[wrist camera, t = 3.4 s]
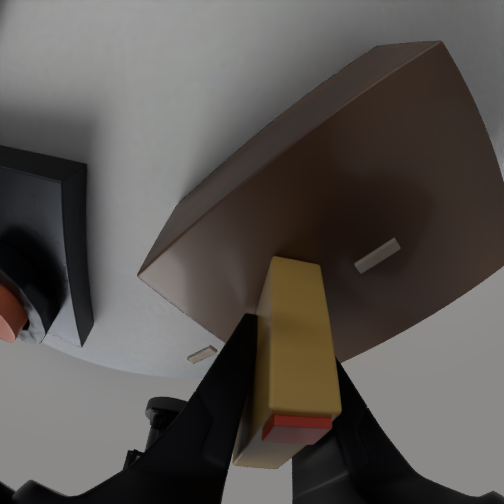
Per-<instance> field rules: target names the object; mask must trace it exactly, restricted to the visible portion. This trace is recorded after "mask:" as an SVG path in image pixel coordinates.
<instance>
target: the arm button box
mask: <svg viewBox="0 0 504 504" xmlns="http://www.w3.org/2000/svg"><path fill="white" fill-rule="evenodd" d="M86 171H87V165H86V164H84V163H79V162H75V161H71V160H66V159H62V158H57V157H53V156H48V155H43V154H39V153H34V152H29V151H24V150H19V149H14V148H9V147H4V146H0V283H1V284H2V285H3V286H4V287H5V288H6V289H7V290H9V291H10V292H11V293H12V294H13V295H14V296H15V297H16V299H17V300H18V302H19V303H20V304H21V306H22V307H23V309H24V310H25V311H26V314H27V317H28V320H27V322H26V324H25V325H24V327H23V328H22V330H21V331H20V333H19V335H18V336H17V338H19V339H21V340H23V341H25V342H30V343H41V342H42V340H43V339H44V337H45V336H46V334H47V333H49V334H51V335H53V336H56V337H58V338H60V339H62V340H65V341H67V342H69V343H72V344H74V345H76V346H79V347H83V345H84V343H85V341H86V339H87V337H88V335H89V333H90V331H91V329H92V327H93V325H94V324H93V317H92V309H91V301H90V291H89V281H88V268H87V252H86V218H85V205H86Z"/></svg>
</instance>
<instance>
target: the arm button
mask: <svg viewBox="0 0 504 504" xmlns="http://www.w3.org/2000/svg"><path fill="white" fill-rule="evenodd" d="M27 320H28V317H27V314H26V311H25V310H24V309H23V307H22V306H21V304H20V303H19V302H18V300H17V299H16V297H15V296H14V295H13V294H12V293H11V292H10V291H9V290H7V289H6V288H5V287H4V286H3V285H2V284H1V283H0V339H2V340H4V341H6V342H10V343H11V342H14V341H15V340H16V338H17V336H18V335H19V333H20V331H21V330H22V328H23V327H24V325H25V324H26V322H27Z"/></svg>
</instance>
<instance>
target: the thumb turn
mask: <svg viewBox="0 0 504 504" xmlns="http://www.w3.org/2000/svg"><path fill="white" fill-rule="evenodd" d="M256 315H257V316H258V338H257V352H256V357H255V361H254V366H253V370H252V374H251V379H250V383H249V387H248V392H247V396H246V400H245V404H244V409H243V413H242V417H241V421H240V425H239V429H238V433H237V437H236V441H235V445H234V452H233V465H235V466H243V467H253V468H266V469H278V468H279V467H280V466H282V465H283V464H284V463H285V462H287V461H288V460H289V459H290V458H292V457H293V456H294V455H295V454H296V453H298V452H299V451H300V450H301V449H302V448H304V447H305V446H306V445H313V444H315V443H316V442H317V441H318V440H319V439H321V438H322V437H323V436H324V435H325V434H326V433H327V432H329V431H330V430H331V429H332V422H333V421H334V420H335V419H336V418H337V417H338V416H339V415H340V414H341V411H342V408H341V399H340V391H339V382H338V375H337V367H336V360H335V352H334V345H333V339H332V332H331V326H330V319H329V313H328V307H327V301H326V295H325V290H324V284H323V279H322V273H321V268H320V265H318V264H313V263H308V262H303V261H298V260H293V259H288V258H282V257H277V256H273V258H272V260H271V263H270V267H269V270H268V273H267V277H266V280H265V284H264V287H263V290H262V294H261V297H260V300H259V304H258V307H257V310H256Z"/></svg>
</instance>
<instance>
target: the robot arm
mask: <svg viewBox="0 0 504 504" xmlns="http://www.w3.org/2000/svg"><path fill="white" fill-rule="evenodd" d="M257 338H258V316H257V315H256V314H250V313H245V314H244V315H243V317H242V318H241V320H240V322H239V323H238V325H237V326H236V328H235V330H234V331H233V333H232V334H231V336H230V337H229V339H228V341H227V342H226V344H225V345H224V347H223V349H222V350H221V352H220V353H219V355H218V356H217V358H216V359H215V361H214V363H213V364H212V366H211V367H210V369H209V370H208V372H207V373H206V375H205V377H204V378H203V380H202V381H201V383H200V384H199V386H198V388H197V389H196V391H195V392H194V393H193V395H192V396H191V398H190V399H189V401H188V402H187V404H186V405H185V406H184V408H183V409H182V411H181V412H180V413H179V414H177V413H173V412H169V411H166V410H162V409H159V408H155V407H151V410H150V425H151V429H150V432H149V436H148V440H147V444H146V449H145V452H144V453H143V452H139V451H138V450H135V449H134V450H133V451H130V450H129V451H128V453H127V456H126V460H125V464H124V467H123V470H122V471H121V472H119V473H117V474H116V475H114V476H112V477H111V478H109V479H107V480H106V481H104V482H102V483H101V484H99V485H97V486H95V487H94V488H92V489H90V490H88V491H87V492H85V493H83V494H80V495H78V496H67V495H64V494H62V493H60V492H57V491H55V490H53V489H50V488H48V487H46V486H44V485H42V484H40V483H38V482H36V481H33V480H29V481H27V482H26V483H25V484H24V485H23V486H22V487H20V488H19V489H18V490H17V491H15V490H13V489H12V488H10V487H9V486H7V485H5V484H4V483H2V482H1V481H0V504H221V501H222V495H223V490H224V485H225V481H226V477H227V473H228V469H229V465H230V461H231V457H232V453H233V449H234V445H235V441H236V437H237V433H238V429H239V425H240V421H241V417H242V413H243V409H244V404H245V400H246V396H247V392H248V387H249V383H250V379H251V374H252V370H253V366H254V361H255V357H256V352H257ZM335 360H336V367H337V375H338V382H339V391H340V399H341V408H342V411H341V414H340V415H339V416H338V417H337V418H336V419H335V420H334V421H333V422H332V429H331V430H330V431H329V432H327V433H326V434H325V435H324V436H323V437H322V438H321V439H319V440H318V441H317V442H316V443H315V444H313V445H306V446H305V447H304V448H302V449H301V450H300V451H299V452H298V453H296V454H295V455H294V456H293V457H292V481H293V482H292V483H293V484H292V486H293V488H292V489H293V499H292V500H293V501H292V504H504V497H503V496H502V495H500V494H498V493H497V492H495V491H491V492H489V493H487V494H485V495H482V496H480V497H474V496H469V495H465V494H463V493H460V492H458V491H455V490H452V489H450V488H447V487H445V486H443V485H440V484H438V483H435V482H433V481H431V480H429V479H426V478H424V477H423V476H421V475H420V474H418V473H417V472H416V471H415V470H414V469H413V468H412V467H411V466H410V465H409V463H408V462H407V461H406V460H405V458H404V457H403V456H402V455H401V453H400V452H399V451H398V449H397V448H396V447H395V446H394V444H393V443H392V442H391V441H390V439H389V438H388V437H387V435H386V434H385V433H384V431H383V430H382V428H381V427H380V426H379V424H378V423H377V421H376V419H375V418H374V416H373V415H372V413H371V411H370V410H369V408H367V405H366V404H365V402H364V400H363V399H362V397H361V396H360V394H359V392H358V391H357V389H356V388H355V386H354V384H353V383H352V381H351V380H350V378H349V377H348V375H347V373H346V372H345V370H344V368H343V367H342V365H341V364H340V362H339V361H338V359H337V357H336V356H335Z"/></svg>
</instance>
